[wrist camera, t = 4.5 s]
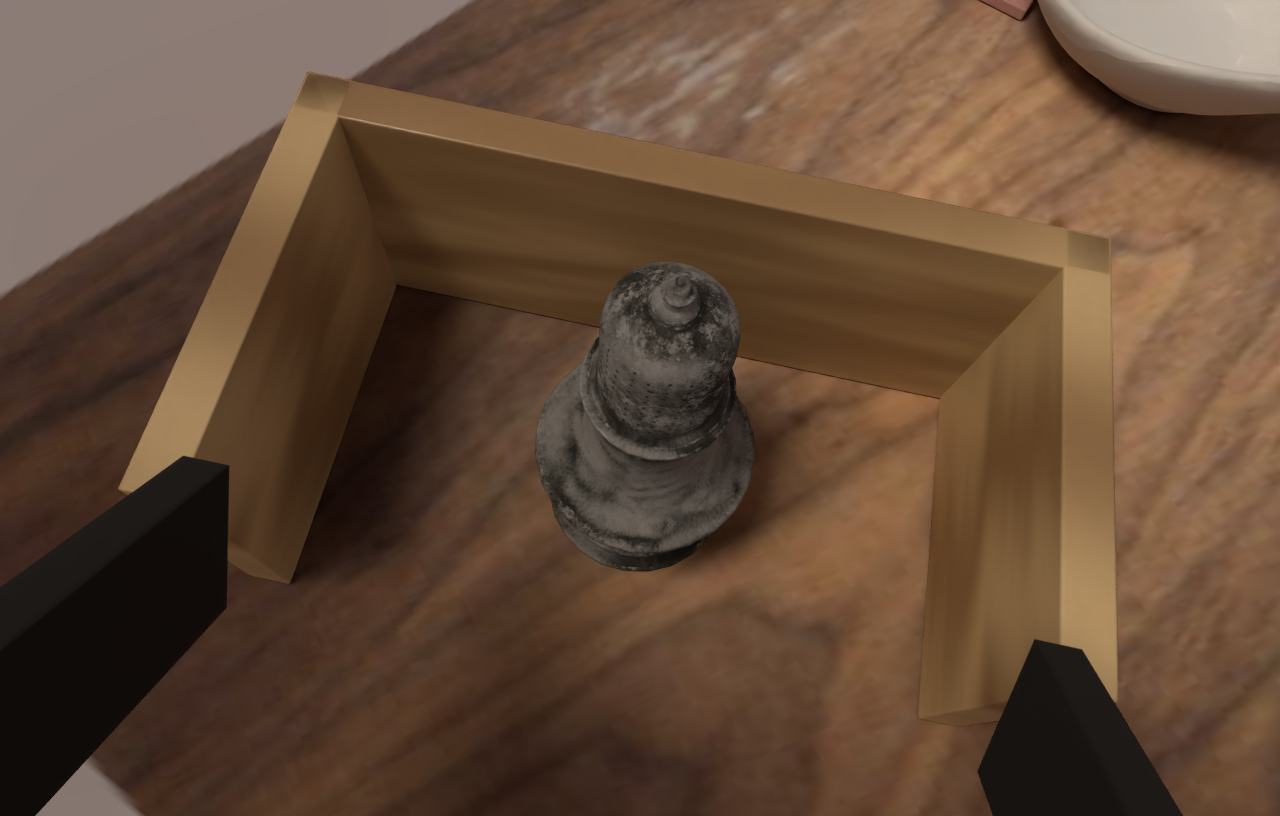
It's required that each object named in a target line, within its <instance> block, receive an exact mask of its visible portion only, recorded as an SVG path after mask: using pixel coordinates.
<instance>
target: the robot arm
mask: <svg viewBox="0 0 1280 816" xmlns="http://www.w3.org/2000/svg"><path fill="white" fill-rule="evenodd" d="M228 512H229V465H225V464H220V463H216V462H211V461H206V460H202V459H197V458H192V457H188V456H182V457H180V458H179V459H178V460H176V461H175V462H173V463H172V464H171V465H169V466H168V467H167V468H165V469H164V470H162V471H161V472H160V473H158V474H157V475H155V476H154V477H153V478H151V479H150V480H149V481H147V482H146V483H144V484H143V485H142V486H140V487H139V488H137V489H136V490H135V491H133V492H132V493H131V494H129V495H128V496H126V497H125V498H124V499H122V500H121V501H119V502H118V503H117V504H115V505H114V506H113V507H111V508H110V509H108V510H107V511H106V512H104V513H103V514H101V515H100V516H99V517H97V518H96V519H95V520H93V521H92V522H90V523H89V524H88V525H86V526H85V527H83V528H82V529H81V530H79V531H78V532H77V533H75V534H74V535H72V536H71V537H70V538H68V539H67V540H65V541H64V542H63V543H61V544H60V545H59V546H57V547H56V548H54V549H53V550H52V551H50V552H49V553H47V554H46V555H45V556H43V557H42V558H41V559H39V560H38V561H36V562H35V563H34V564H32V565H31V566H29V567H28V568H27V569H25V570H24V571H23V572H21V573H20V574H18V575H17V576H16V577H14V578H13V579H11V580H10V581H9V582H7V583H6V584H4V585H3V586H2V587H0V816H35V815H36V814H37V813H38V812H39V811H40V810H41V809H42V808H43V807H44V806H45V805H46V803H47V802H48V801H49V800H50V799H51V798H52V797H53V796H54V795H55V794H56V793H57V791H58V790H59V789H60V788H61V787H62V786H63V785H64V784H65V783H66V781H68V779H69V778H70V777H71V776H72V775H73V774H74V773H75V772H76V771H77V770H78V769H79V768H80V767H81V765H82V764H83V763H84V762H85V761H86V760H87V759H88V758H89V757H90V756H91V755H92V753H93V752H94V751H95V750H96V749H97V748H98V747H99V746H100V745H101V744H102V743H103V741H104V740H105V739H106V738H107V737H108V736H109V735H110V734H111V733H112V732H113V731H114V730H115V728H116V727H117V726H118V725H119V724H120V723H121V722H122V721H123V720H124V719H125V718H126V716H127V715H128V714H129V713H130V712H131V711H132V710H133V709H134V708H135V707H136V706H137V704H138V703H139V702H140V701H141V700H142V699H143V698H144V697H145V696H146V695H147V694H148V693H149V691H150V690H151V689H152V688H153V687H154V686H155V685H156V684H157V683H158V682H159V681H160V679H161V678H162V677H163V676H164V675H165V674H166V673H167V672H168V671H169V670H170V669H171V667H172V666H173V665H174V664H175V663H176V662H177V661H178V660H179V659H180V658H181V657H182V655H183V654H184V653H185V652H186V651H187V650H188V649H189V648H190V647H191V646H192V645H193V644H194V642H195V641H196V640H197V639H198V638H199V637H200V636H201V635H202V634H203V633H204V632H205V630H206V629H207V628H208V627H209V626H210V625H211V624H212V623H213V622H214V621H215V620H216V618H217V617H218V616H219V615H220V614H221V613H222V612H223V611H224V610H225V609H226V607H227V560H228ZM978 774H979V777H980V780H981V783H982V786H983V788H984V791H985V794H986V797H987V800H988V803H989V805H990V808H991V811H992V814H993V816H1183V815H1182V813H1181V812H1180V810H1179V808H1178V807H1177V805H1176V803H1175V802H1174V800H1173V798H1172V797H1171V795H1170V793H1169V792H1168V790H1167V788H1166V787H1165V785H1164V784H1163V782H1162V780H1161V779H1160V777H1159V775H1158V774H1157V772H1156V770H1155V769H1154V767H1153V765H1152V764H1151V762H1150V760H1149V759H1148V757H1147V755H1146V754H1145V752H1144V751H1143V749H1142V747H1141V746H1140V744H1139V742H1138V741H1137V739H1136V737H1135V736H1134V734H1133V732H1132V731H1131V729H1130V727H1129V726H1128V724H1127V722H1126V721H1125V719H1124V718H1123V716H1122V714H1121V713H1120V711H1119V709H1118V708H1117V706H1116V704H1115V703H1114V701H1113V699H1112V698H1111V696H1110V694H1109V693H1108V691H1107V689H1106V688H1105V686H1104V684H1103V683H1102V681H1101V680H1100V678H1099V676H1098V675H1097V673H1096V671H1095V670H1094V668H1093V666H1092V665H1091V663H1090V661H1089V660H1088V658H1087V656H1086V655H1085V653H1084V651H1083V650H1082V649H1078V648H1074V647H1069V646H1064V645H1060V644H1055V643H1050V642H1046V641H1041V640H1037V639H1034V642H1033V644H1032V646H1031V648H1030V651H1029V653H1028V655H1027V658H1026V660H1025V662H1024V665H1023V667H1022V669H1021V672H1020V674H1019V676H1018V679H1017V681H1016V683H1015V686H1014V688H1013V690H1012V692H1011V695H1010V697H1009V699H1008V702H1007V704H1006V706H1005V709H1004V711H1003V713H1002V716H1001V718H1000V720H999V723H998V725H997V727H996V730H995V732H994V734H993V736H992V739H991V741H990V743H989V746H988V748H987V750H986V753H985V755H984V757H983V760H982V762H981V764H980V767H979V769H978Z"/></svg>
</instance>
